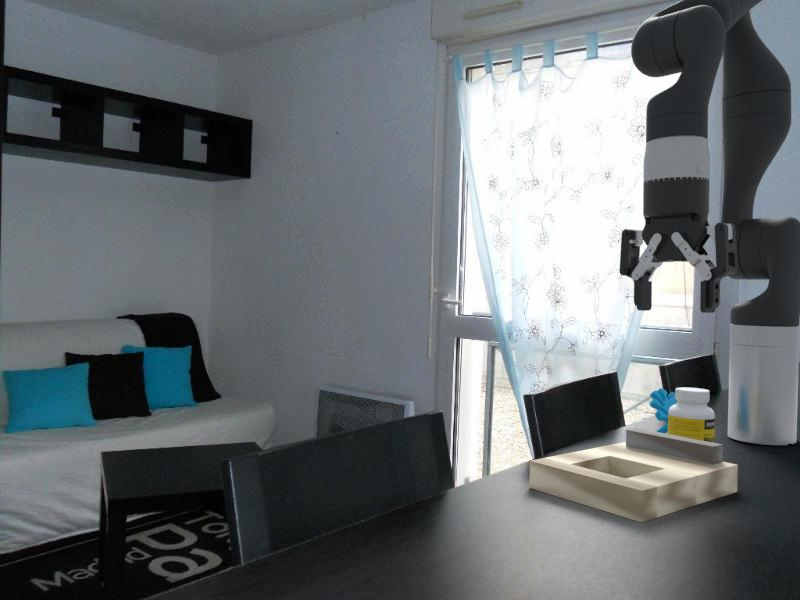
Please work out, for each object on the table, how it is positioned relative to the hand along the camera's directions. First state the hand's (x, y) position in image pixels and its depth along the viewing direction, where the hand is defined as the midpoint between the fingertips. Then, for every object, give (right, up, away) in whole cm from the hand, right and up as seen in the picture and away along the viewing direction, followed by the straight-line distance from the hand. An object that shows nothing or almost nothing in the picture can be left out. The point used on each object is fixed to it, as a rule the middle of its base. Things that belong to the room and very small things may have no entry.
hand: (674, 311), depth 86 cm
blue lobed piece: (+7, -20, +17) cm, 27 cm away
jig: (-8, -20, -9) cm, 23 cm away
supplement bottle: (+3, -20, +2) cm, 20 cm away
